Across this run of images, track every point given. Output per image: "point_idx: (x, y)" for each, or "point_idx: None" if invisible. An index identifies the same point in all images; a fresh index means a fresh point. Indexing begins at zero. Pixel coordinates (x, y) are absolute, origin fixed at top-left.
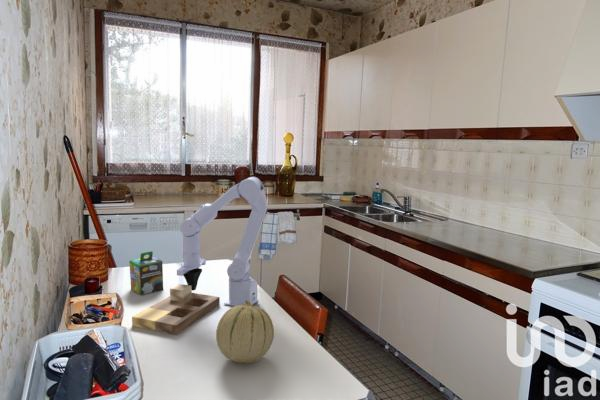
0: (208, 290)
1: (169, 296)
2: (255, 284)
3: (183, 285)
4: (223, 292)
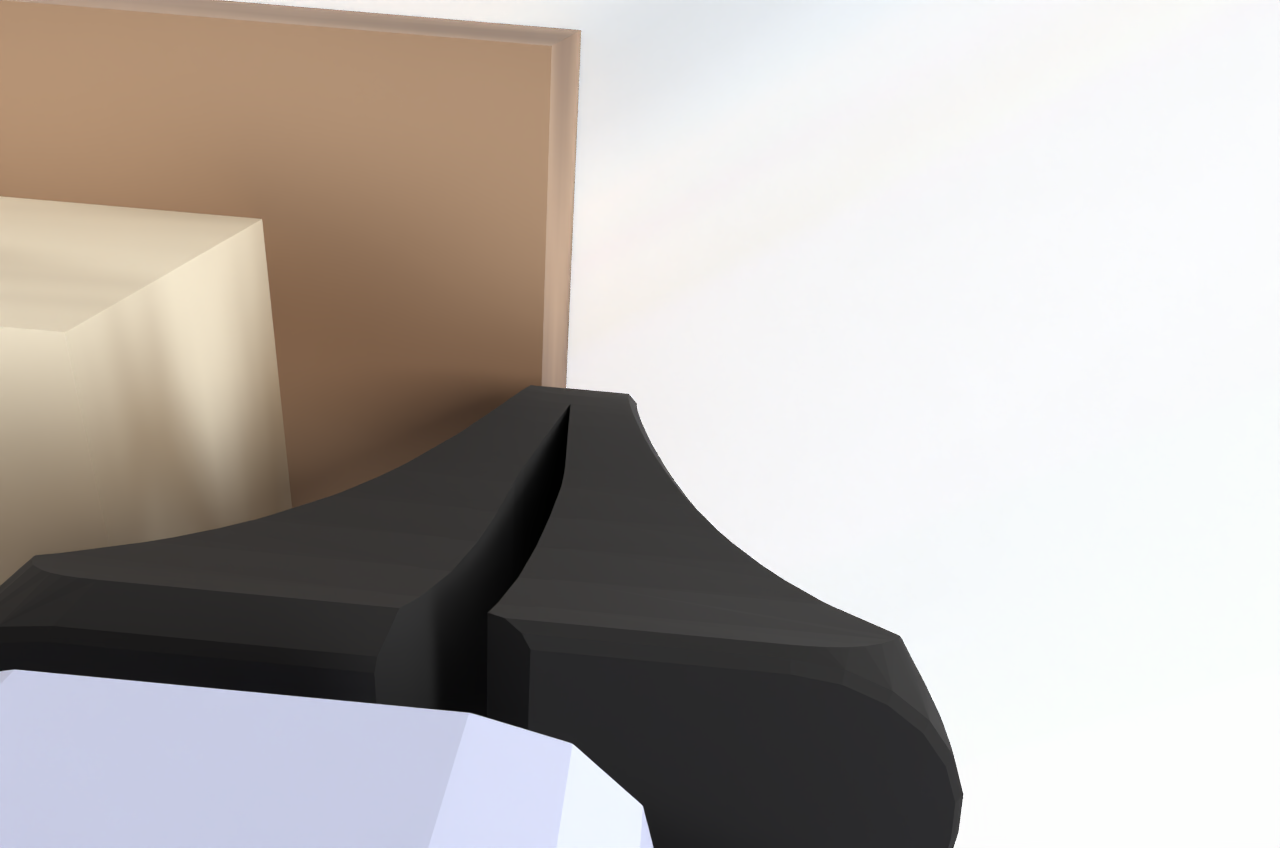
0: (1262, 394)
1: (19, 6)
2: None
3: (31, 554)
4: (1159, 696)
